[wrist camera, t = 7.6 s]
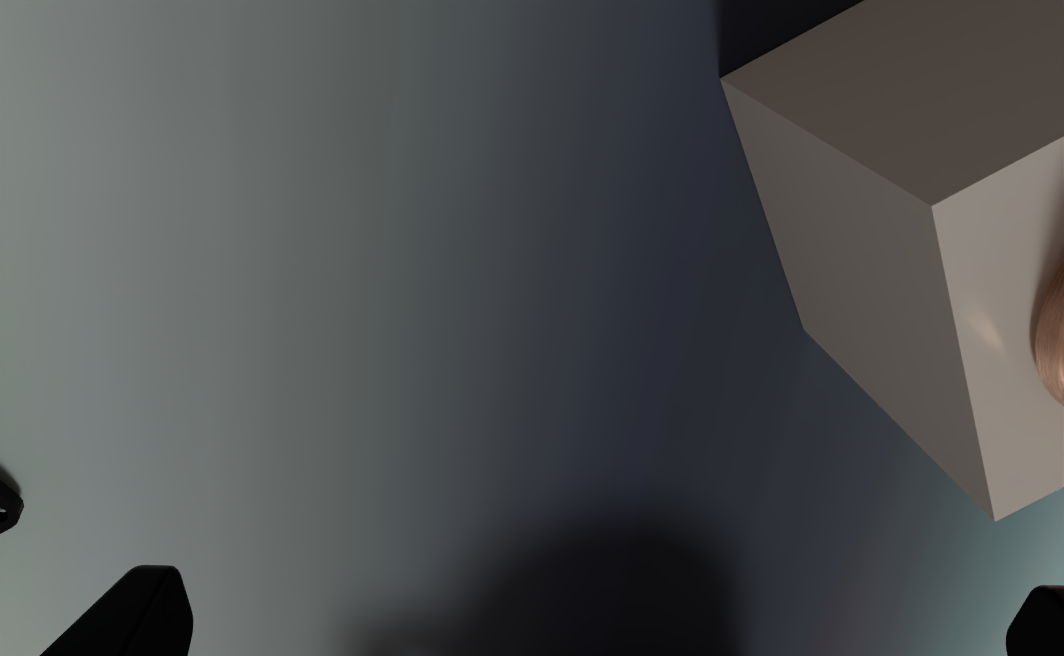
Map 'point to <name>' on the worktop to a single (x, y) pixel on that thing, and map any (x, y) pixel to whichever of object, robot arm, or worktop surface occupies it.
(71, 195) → the worktop surface
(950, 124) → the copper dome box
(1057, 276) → the plunger
